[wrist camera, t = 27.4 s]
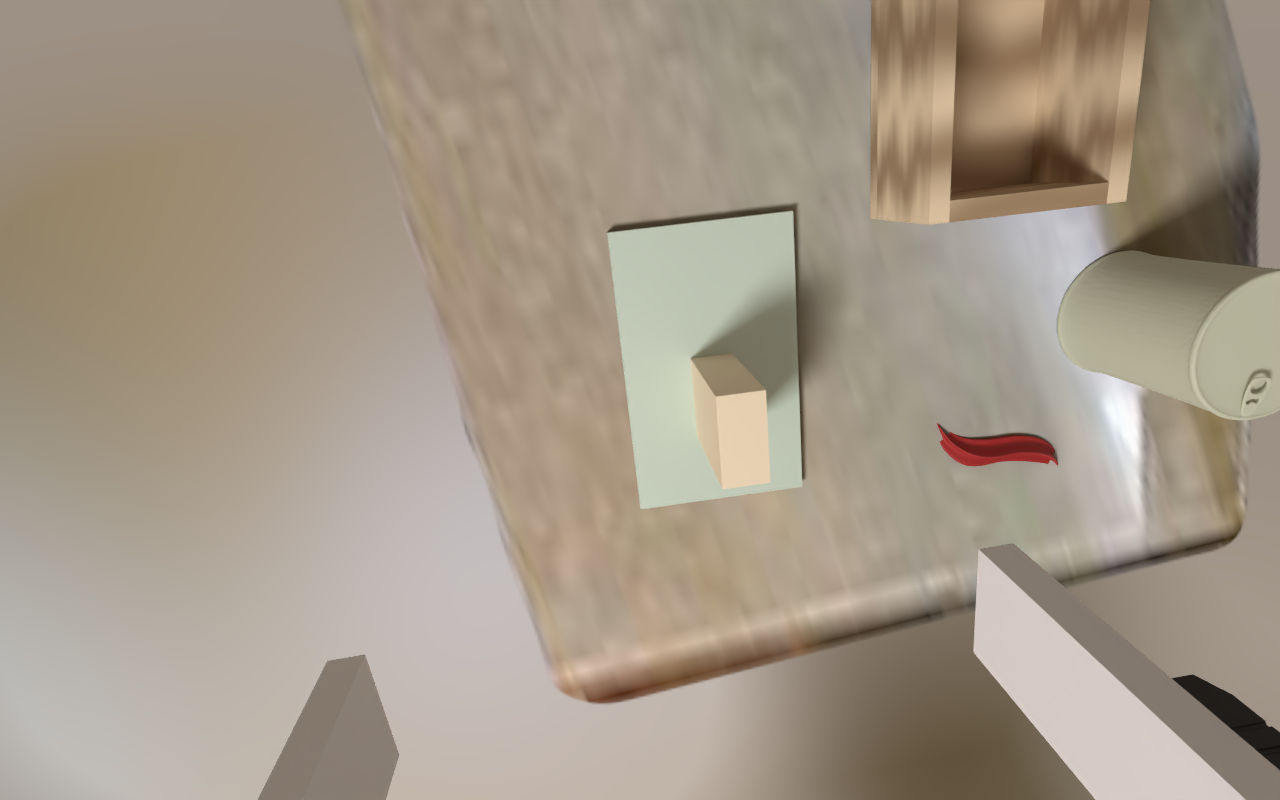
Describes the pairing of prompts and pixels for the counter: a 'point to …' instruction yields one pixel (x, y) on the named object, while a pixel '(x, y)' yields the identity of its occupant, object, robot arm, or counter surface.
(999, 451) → the cayenne pepper
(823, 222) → the counter surface
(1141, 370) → the can
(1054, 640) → the robot arm
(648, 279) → the lid
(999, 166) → the light wood open box
